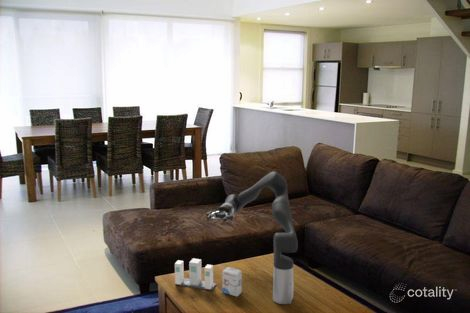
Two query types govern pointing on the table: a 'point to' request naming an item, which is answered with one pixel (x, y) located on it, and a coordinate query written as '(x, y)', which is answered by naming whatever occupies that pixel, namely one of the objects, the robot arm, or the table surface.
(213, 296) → the table surface
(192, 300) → the table surface
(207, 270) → the mounted modules
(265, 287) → the table surface
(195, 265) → the white tall block
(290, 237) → the robot arm
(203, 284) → the rail
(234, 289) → the ink box
